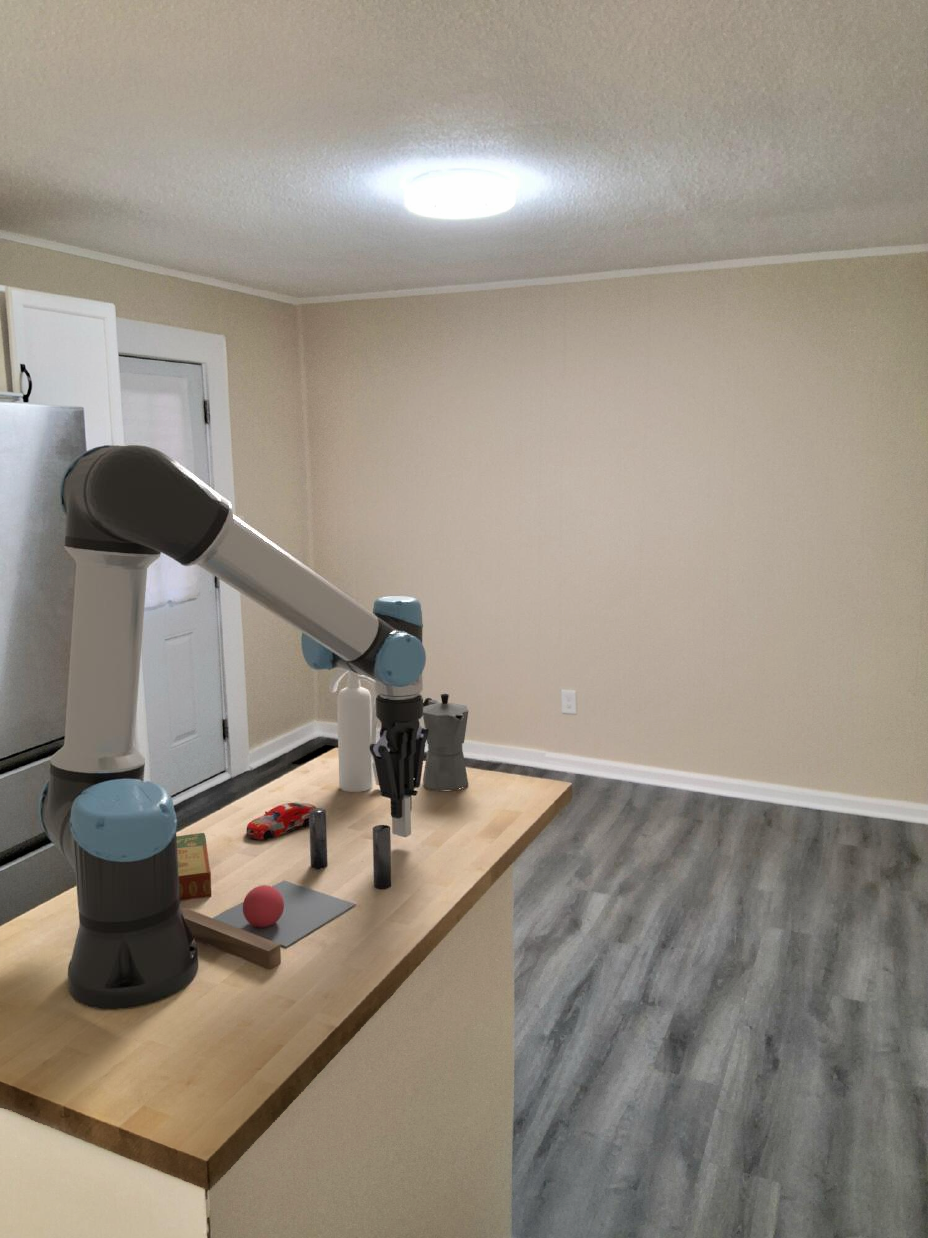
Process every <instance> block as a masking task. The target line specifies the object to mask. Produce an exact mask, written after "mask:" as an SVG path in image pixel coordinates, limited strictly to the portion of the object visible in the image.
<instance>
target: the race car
mask: <svg viewBox="0 0 928 1238" xmlns="http://www.w3.org/2000/svg"><path fill="white" fill-rule="evenodd" d="M314 808H317V807H316V806H315V805H313V804H311V803H305V802H301V803H299V802H289V803H284V804H280V805H277V806H274V807H273V808H270V810H268V811H267V810H266V811H264V814H263V815H261V816H259V817H257V818H255V819H253V820H251V821H250V822H248V823H247V825H246V836H247V837H249V838H251V839H255V840H264V841H268V840H270V839H273V838H275V837H278V836H279V837H280V836H281V835H284V834H285V835H286V834H287V833H292V832H295V831H297V830H300V829H303V828H305V829H306V828H308V827H309V810H311V809H314Z"/></svg>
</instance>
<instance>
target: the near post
mask: <svg viewBox="0 0 928 1238" xmlns="http://www.w3.org/2000/svg"><path fill="white" fill-rule="evenodd" d="M391 834H392V833H391V826H389V825H386V824H378V825H375V826H373V827H372V856H373V857H372V858H373V860H372V861H373V864H372V865H373V866H372V867H373V887H374V888H375V889H376V890H382V891H384V890H388V889H390V888H391V887H392V849H391V848H392V847H391V846H392V845H391V842H392V841H391V840H392V839H391V837H392V835H391Z"/></svg>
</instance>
